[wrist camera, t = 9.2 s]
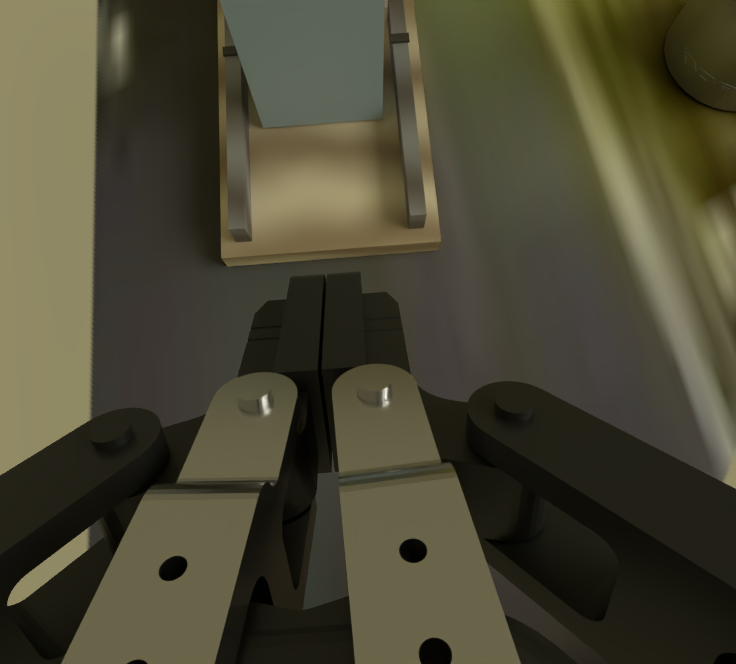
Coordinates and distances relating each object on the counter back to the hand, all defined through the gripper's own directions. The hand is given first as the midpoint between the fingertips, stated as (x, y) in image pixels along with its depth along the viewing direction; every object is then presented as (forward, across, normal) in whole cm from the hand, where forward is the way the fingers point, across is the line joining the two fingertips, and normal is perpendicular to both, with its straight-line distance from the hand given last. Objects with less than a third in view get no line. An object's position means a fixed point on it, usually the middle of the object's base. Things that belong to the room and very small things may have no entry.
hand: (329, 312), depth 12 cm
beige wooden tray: (+32, +1, 0) cm, 32 cm away
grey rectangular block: (+30, +1, 0) cm, 30 cm away
